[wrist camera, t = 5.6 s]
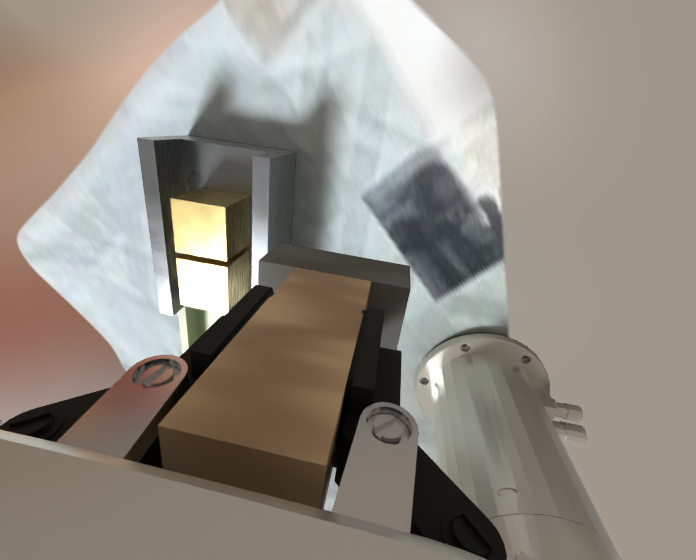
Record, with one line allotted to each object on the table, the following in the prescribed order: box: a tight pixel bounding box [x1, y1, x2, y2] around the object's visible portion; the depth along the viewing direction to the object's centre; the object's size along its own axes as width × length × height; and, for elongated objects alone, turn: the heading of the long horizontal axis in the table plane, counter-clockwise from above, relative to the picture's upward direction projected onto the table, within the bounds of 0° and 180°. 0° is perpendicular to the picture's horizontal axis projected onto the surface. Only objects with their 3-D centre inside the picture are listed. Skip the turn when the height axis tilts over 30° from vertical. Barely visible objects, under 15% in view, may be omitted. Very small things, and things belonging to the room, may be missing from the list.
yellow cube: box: [176, 249, 249, 313], centre depth 28 cm, size 4×4×4 cm
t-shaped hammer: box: [158, 243, 410, 510], centre depth 11 cm, size 6×3×10 cm, turn 83°
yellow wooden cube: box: [170, 189, 249, 261], centre depth 26 cm, size 4×4×4 cm
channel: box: [137, 135, 296, 316], centre depth 28 cm, size 9×14×6 cm
